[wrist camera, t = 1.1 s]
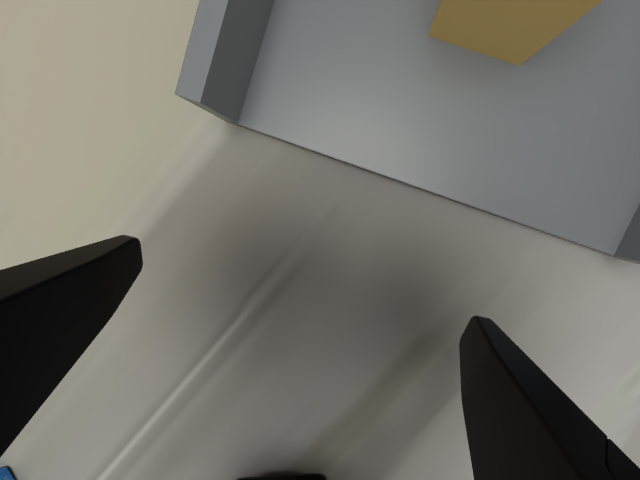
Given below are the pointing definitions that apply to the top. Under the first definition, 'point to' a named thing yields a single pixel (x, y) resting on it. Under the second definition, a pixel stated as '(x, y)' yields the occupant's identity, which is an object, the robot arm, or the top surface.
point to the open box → (440, 106)
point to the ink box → (5, 474)
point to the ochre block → (505, 25)
